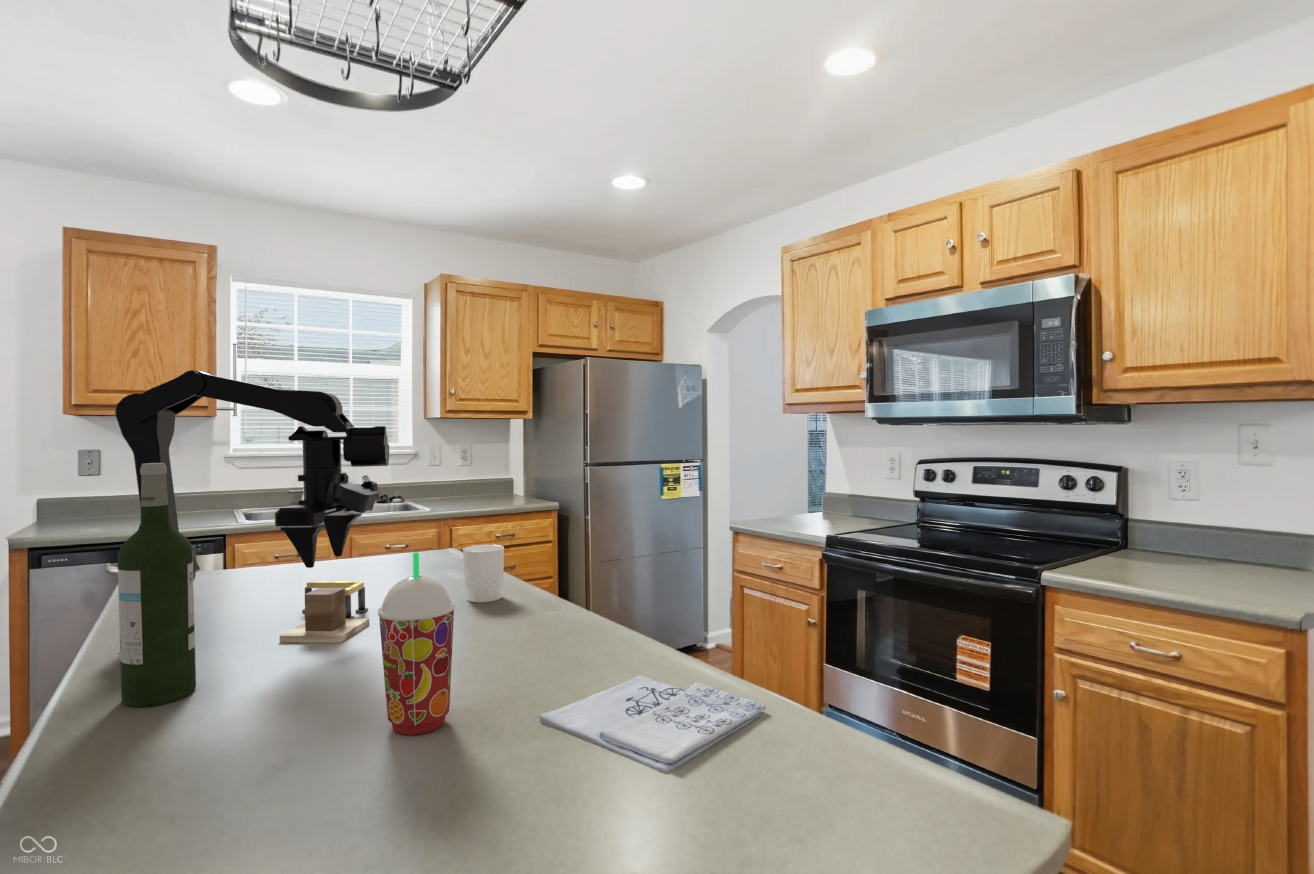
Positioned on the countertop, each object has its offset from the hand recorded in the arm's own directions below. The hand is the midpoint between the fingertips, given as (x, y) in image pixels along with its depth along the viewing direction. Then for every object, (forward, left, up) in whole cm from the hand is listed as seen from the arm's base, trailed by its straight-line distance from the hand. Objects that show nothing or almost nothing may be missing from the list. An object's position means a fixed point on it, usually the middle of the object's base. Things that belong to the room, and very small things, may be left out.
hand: (324, 561), depth 119 cm
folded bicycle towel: (-32, -56, -13) cm, 66 cm away
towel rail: (+10, +5, -12) cm, 16 cm away
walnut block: (0, 0, -11) cm, 11 cm away
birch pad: (0, 0, -12) cm, 12 cm away
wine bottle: (-27, +8, -12) cm, 31 cm away
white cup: (+23, -20, -12) cm, 33 cm away
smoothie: (-35, -29, -12) cm, 47 cm away
